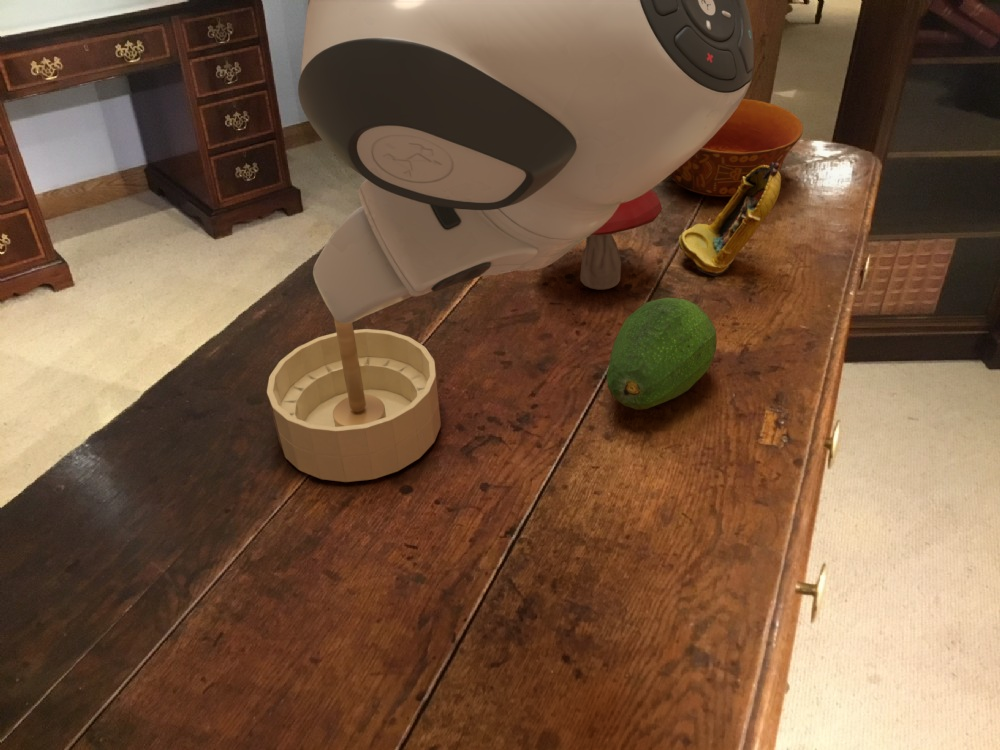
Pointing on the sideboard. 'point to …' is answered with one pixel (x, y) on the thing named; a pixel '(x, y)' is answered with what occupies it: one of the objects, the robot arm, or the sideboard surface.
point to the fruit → (660, 352)
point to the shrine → (733, 222)
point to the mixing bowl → (321, 386)
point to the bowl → (740, 148)
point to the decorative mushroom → (601, 247)
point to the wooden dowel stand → (354, 385)
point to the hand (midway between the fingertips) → (432, 273)
